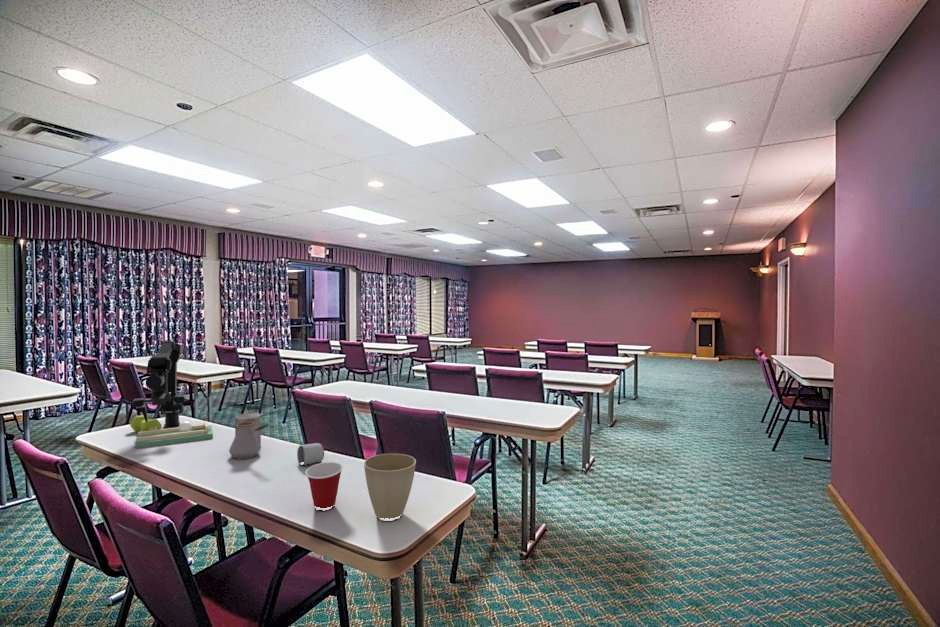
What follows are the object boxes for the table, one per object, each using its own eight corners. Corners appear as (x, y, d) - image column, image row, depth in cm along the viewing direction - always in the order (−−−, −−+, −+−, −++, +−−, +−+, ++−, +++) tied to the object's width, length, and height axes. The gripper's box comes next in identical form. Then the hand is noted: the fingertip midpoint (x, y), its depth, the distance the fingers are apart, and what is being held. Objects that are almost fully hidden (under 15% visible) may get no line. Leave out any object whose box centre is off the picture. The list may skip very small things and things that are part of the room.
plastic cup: (296, 510, 134) (297, 470, 134) (324, 497, 143) (324, 459, 143) (323, 519, 129) (323, 477, 129) (350, 504, 138) (350, 465, 138)
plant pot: (402, 531, 122) (403, 473, 122) (353, 524, 126) (354, 467, 126) (423, 508, 137) (423, 455, 136) (378, 501, 141) (379, 450, 140)
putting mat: (138, 438, 202) (138, 427, 202) (211, 429, 217) (211, 419, 217) (135, 448, 188) (135, 436, 188) (212, 438, 203) (212, 427, 203)
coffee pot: (223, 457, 179) (223, 419, 179) (250, 449, 189) (250, 413, 189) (254, 468, 168) (254, 427, 167) (282, 459, 177) (282, 421, 177)
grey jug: (240, 444, 195) (240, 409, 195) (264, 443, 196) (264, 409, 196) (231, 451, 186) (230, 415, 185) (256, 451, 187) (255, 415, 186)
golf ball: (183, 419, 207) (194, 425, 209) (176, 429, 205) (186, 435, 206) (184, 418, 203) (194, 424, 205) (176, 428, 201) (186, 434, 202)
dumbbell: (162, 434, 208) (162, 418, 208) (142, 438, 202) (142, 422, 202) (148, 428, 218) (148, 413, 218) (128, 431, 211) (128, 416, 211)
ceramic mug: (325, 463, 173) (325, 443, 173) (304, 468, 168) (304, 447, 168) (313, 456, 181) (313, 437, 181) (293, 461, 175) (293, 441, 175)
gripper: (131, 390, 187) (131, 427, 187) (184, 386, 197) (184, 421, 197) (133, 385, 196) (133, 421, 197) (184, 382, 206) (184, 416, 206)
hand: (159, 420), depth 199 cm, fingers open, 9 cm apart
